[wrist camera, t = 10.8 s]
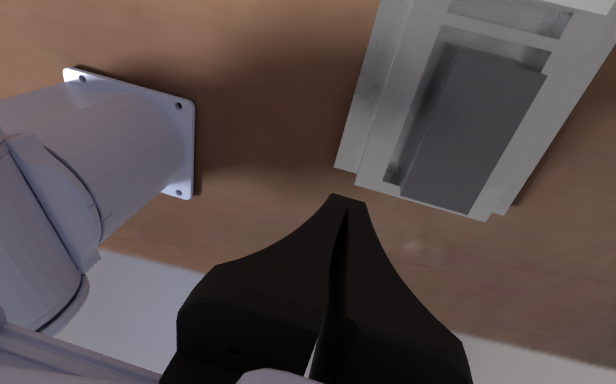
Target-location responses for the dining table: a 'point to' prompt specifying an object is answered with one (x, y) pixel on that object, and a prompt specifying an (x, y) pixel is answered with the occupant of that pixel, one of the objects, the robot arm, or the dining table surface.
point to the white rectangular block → (569, 5)
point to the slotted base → (466, 98)
